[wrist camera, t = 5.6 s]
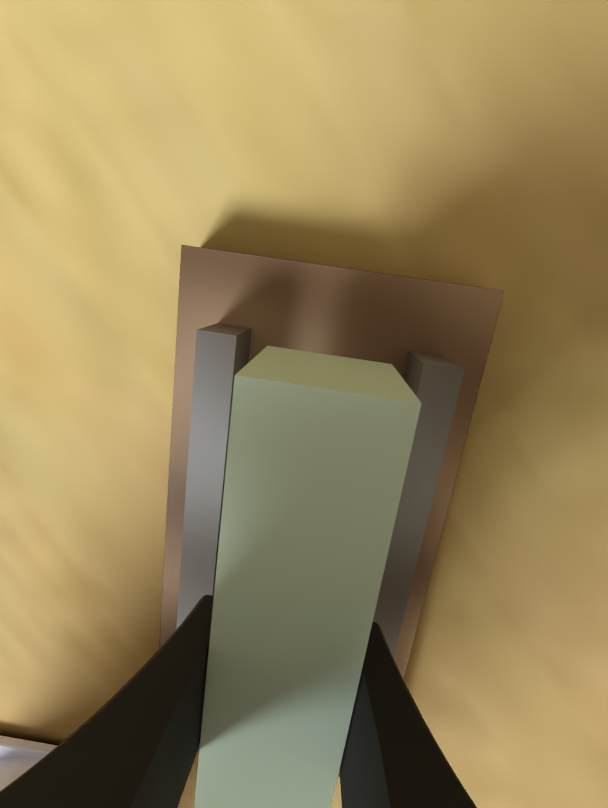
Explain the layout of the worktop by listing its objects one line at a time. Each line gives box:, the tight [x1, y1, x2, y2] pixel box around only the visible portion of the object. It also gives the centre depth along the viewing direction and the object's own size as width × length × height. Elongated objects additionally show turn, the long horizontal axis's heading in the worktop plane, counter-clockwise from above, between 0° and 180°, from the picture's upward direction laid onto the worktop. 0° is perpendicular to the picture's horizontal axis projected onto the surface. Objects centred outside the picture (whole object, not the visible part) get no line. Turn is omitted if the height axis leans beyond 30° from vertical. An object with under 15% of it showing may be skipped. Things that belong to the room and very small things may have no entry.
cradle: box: [159, 245, 504, 777], centre depth 14 cm, size 18×9×4 cm, turn 172°
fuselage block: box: [194, 346, 421, 808], centre depth 10 cm, size 14×3×4 cm, turn 172°
